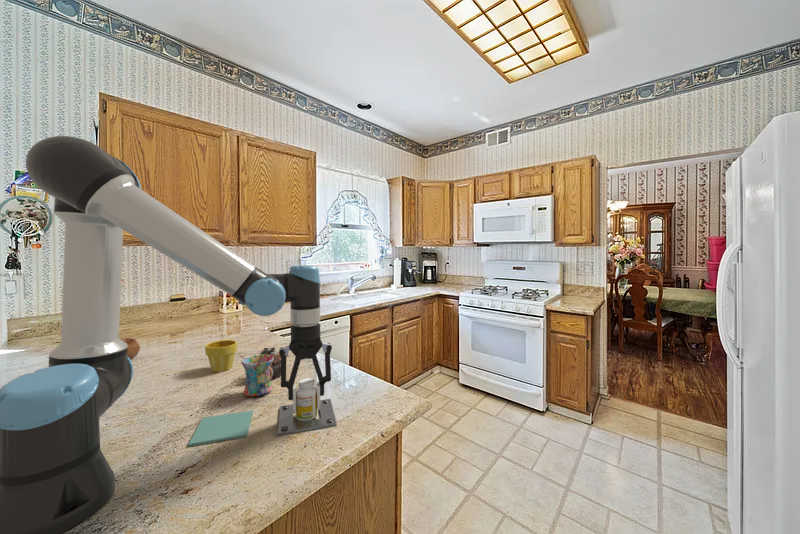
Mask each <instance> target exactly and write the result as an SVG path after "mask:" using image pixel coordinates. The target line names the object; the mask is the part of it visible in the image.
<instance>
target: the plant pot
mask: <svg viewBox="0 0 800 534" xmlns="http://www.w3.org/2000/svg"><path fill="white" fill-rule="evenodd" d="M204 349H205V350H204V351H205V353H204V354H205V355H206V356H207V358H208V361H209V365H210V368H211V371H212V372H214V373H222V372H226V371H230V370H231V369H233V364H234V359H235V354H236V352H237V351H238V342H237V340H232V339H223V340H216V341H212V342H209V343H207V344H205V345H204Z"/></svg>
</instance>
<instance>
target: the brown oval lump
mask: <svg viewBox="0 0 800 534" xmlns="http://www.w3.org/2000/svg"><path fill="white" fill-rule="evenodd" d="M120 339H121V340H122V341H124V342H125V343H127V346H128V348H127V357H129V359H130V360H132V359H133V358H135V357H136V356H137V355H138V354H139V353H140V350H141V345H140V343H139V342H138V340H136V339H135V338H133V337H126V338H120Z"/></svg>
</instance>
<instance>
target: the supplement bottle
mask: <svg viewBox="0 0 800 534" xmlns="http://www.w3.org/2000/svg"><path fill="white" fill-rule="evenodd" d="M295 414H296V419H297V420H298V421H299V422H304V421H310V420H315V418H316V417H317V415H318V410H317V389H316V386H315V379H314V378H311V377H305V378H302V379H300V380H298V388H297V389H296V413H295Z"/></svg>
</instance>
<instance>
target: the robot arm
mask: <svg viewBox="0 0 800 534" xmlns="http://www.w3.org/2000/svg"><path fill="white" fill-rule="evenodd" d="M25 168H26V170H27V171H26V172H27V173H28V176H29V178H30V179H31V181H32V183H34V184H35V185H36V186H37V187H38V188H39V189H40V190H41V191H42V192H44V193H46V194H47V195H49V196H51V197H53V198H54V209H53V211H54V212H53V214H54V215H55V216H56V217H58V218H59V219H60V220H61V221H62V222H63V223H64V225H65V226H64V227H65V228H64V255H63V257H64V258H63V277H62V279H63V282H62V283H63V284H62V303H61V304H62V306H61V307H62V310H61V334H60V335H61V338H60V343H59V344H58V346H56V347H55V348H53V349H52V350H51V351H50V352H49V354H48V367H44V368H40V369H38V370H35V371H34V372H29V373H24V374H23V375H19V376H18V377H16V378H13V379H12V380H10V381H8V382H7V383H5V385H2V386H1V387H0V534H62V533H65V532H66V531H68V530H70V529H72V528H74V527H75V526H77V525H79V524H80V523H82V522H84V521H85V520H87V519H88V518H89V517H91V516H93V515H94V514H95V513H97V512H98V511H99V510H100V509H102V508H103V506H105V505H106V504H107V502H108V501H109V500H110V499H111V498H112V496H113V494H114V493H115V490H116V477H115V475H116V474H115V473H114V471H113V469H112V467H111V466H110V463H109V461H108V460H107V458H106V457H105V455H104V453H103V452H102V449H101V433H100V432H101V431H100V418H101V417H102V416H103V414H105V413H106V412H107V410H108V409H109V408H111V407H112V405H114V403H115V402H116V401H118V400H119V398H121V397H122V396H123V395H124V394H125V392H127V389H128V388H129V386H130V384H131V381H132V379H133V376H134V365H133V364H134V363H133V362H132V359H129V357H127V348H128V346H127V343H125V342H124V341H122V340H121V339H122V338H120V322H121V321H120V318H121V317H120V316H121V315H120V314H121V295H122V294H121V293H122V267H123V266H122V265H123V245H124V244H123V243H124V242H123V241H124V231H125V232H127V233H128V234H129V235H131V236H133V237H134V238H136V239H138V240H139V241H141V242H143V243H144V244H146V245H148V246H149V247H151V248H152V249H154V250H156V251H157V252H159V253H161V254H162V255H163V256H166V257H167V258H169V259H171V260H172V261H174V262H176V263H177V264H179V265H180V266H182V267H184V268H185V269H186V270H188V271H190V272H192V273H193V274H195V275H197V276H199V278H202V279H204V280H205V281H207V283H208V282H209V283H210V284H211V285H214V286H215V287H217V288H218V289H220V290H222V291H223V292H225V293H227V294H228V295H229V296H231V297H233V298H234V299H236V300H237V301H238V303H239V304H240V305H241V306H246V307H247V309H248V310H249V311H251V312H252V313H253V314H255V315H258V316H260V317H261V316H262V317H268V316H273V315H275V314H276V313H278V312H279V311H281V309H282V308H283V306H284V305H285V304H286V303H290V311H289V312H290V324H291V326H290V343H289V344H288V346H285V347H280V348H279V350H278V352H279V354H280V357H281V377H280V387H281V388H285V389H286V388H287V391H288V392H287V393H288V394H287V396H288V401H292V404H293V415H294V414H296V391H297V385H296V384H295V381H296V379H297V374H298V371H299V367H300V363H301V361H302V360H306V359H309V360H312V363H313V367H314V370H315V373H316V376H317V380H318V381H316V382H315V383H316V386H315V388H316V389H317V411H320V400H321V396H322V397H323V396H325V384H326V383H328V382H331V380H332V371H331V352H332V349H333V346H332V344H331V343H330V342H328V343H326V342H325V343H324V342H323V341H322V339H321V324H320V322H321V279H320V269H319V267H318V266H317V265H311V264H309V265H308V264H307V265H306V264H305V265H303V264H302V265H301V264H300V265H291V266H290V267H289V272H286V273H266V272H265V271H263V270H261V269H259V268H258V267H256V266H255V265H254V264H252V263H250V262H249V261H248V260H247V259H245V258H244V257H242V256H241V255H239V254H238V253H236V252H234V251H233V250H232V249H230V248H229V247H227V246H225V245H224V244H223V243H221V242H220V241H218V240H217V239H215V238H214V237H213V236H212V235H209V234H208V233H206V232H205V231H204V230H203V229H201V228H200V227H198V226H196V225H194V224H193V223H192V222H190V221H189V220H187V219H186V218H184V217H182V216H181V215H180V214H178V213H177V212H175V211H174V210H173V209H171V208H169V207H168V206H166V205H165V204H164V203H162V202H160V201H159V200H157V199H156V198H154V197H153V196H152V195H150V194H149V193H147V192H145V190H143V189H142V186H141V183H140V180H139V178H138V176H137V175H136V174H135V173H134V171H133V170H132V169H131V168H130V167H129V166H128V165H127V164H126V163H125V162H124V161H122V160H120V159H119V158H117V157H115V156H113V155H111V154H110V153H108V152H107V151H106V150H105V149H104V148H102V147H100V146H99V145H97V144H95V143H94V142H91V141H89V140H86V139H83V138H80V137H76V136H69V135H56V136H50V137H46V138H43V139H42V140H39V141H38V142H36V143H35V144H34V145H32V146H31V147H30V149H29V150H28V152H27V154H26V159H25ZM321 349H322V351H323V352H324V368H325V369H324V370H325V372H324V373H325V375H324V376H323V372H322V369H321V366H320V363H319V361H318V356H317V354H318V353H319V351H320V350H321ZM290 352H291V353H292V354H293V355H294V356H295V357H294V361H293V365H292V369H291V372H290V376H289V379H288V380H287V356H289V353H290Z"/></svg>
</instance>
